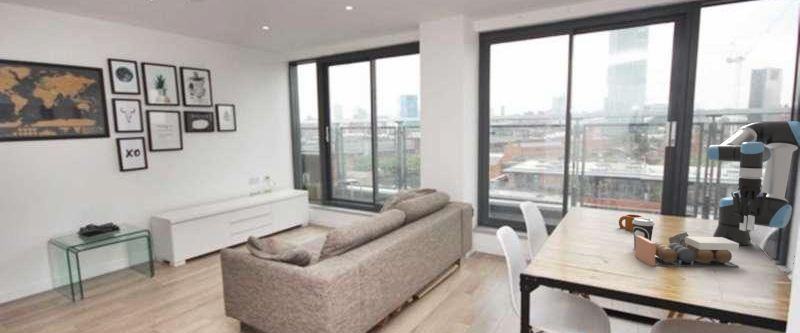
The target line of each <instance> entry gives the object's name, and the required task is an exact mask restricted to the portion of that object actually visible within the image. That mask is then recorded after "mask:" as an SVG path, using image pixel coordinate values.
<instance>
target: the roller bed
mask: <svg viewBox="0 0 800 333" xmlns="http://www.w3.org/2000/svg"><path fill="white" fill-rule="evenodd" d="M654 267H684V268H686V267H689V268H691V267H699V268H700V267H701V268H739V265H737V264H735V263H733V262H730V261H729V262H727V263H721V262H719V261H717V260H715V259H712V261H710V262H708V263H704V262H701V261H699V260H697V259H694V260H693V261H692V262H690V263H686V262H684V261H682V260H680V259H678V258H676V260H675V261H673V262H666V261H664V260H663V259H661V258H659V257H657V256H656V255H655V266H654Z"/></svg>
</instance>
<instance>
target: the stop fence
mask: <svg viewBox="0 0 800 333" xmlns="http://www.w3.org/2000/svg"><path fill="white" fill-rule="evenodd" d="M656 243H657V242H654V241H652V240H651V241H650V240H648V239H646V238H644V237H642V236H640V235H636V243H635V248H634V249H635V250H634V257H635V258H637V259H639V260H640V261H641V262H643V263H645V264H647V265H648V266H650V267H651V266H652V267H656V266H655V252H656Z"/></svg>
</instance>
